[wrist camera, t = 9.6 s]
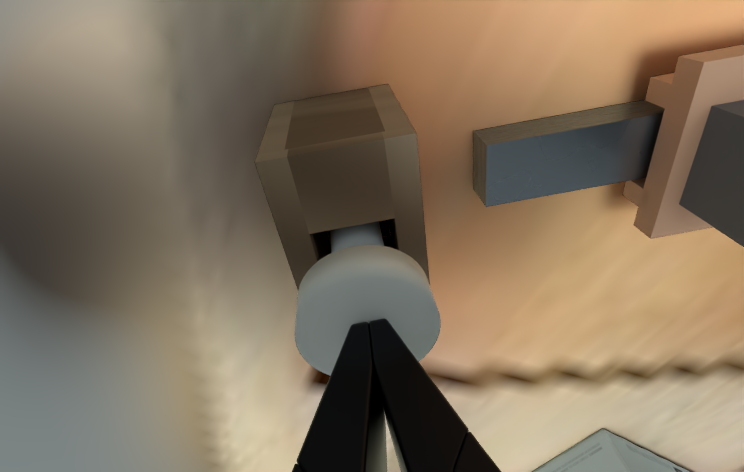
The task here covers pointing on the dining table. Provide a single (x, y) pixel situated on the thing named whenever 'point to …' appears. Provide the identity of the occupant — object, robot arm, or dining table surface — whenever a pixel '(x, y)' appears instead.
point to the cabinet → (342, 173)
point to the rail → (565, 152)
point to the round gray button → (363, 296)
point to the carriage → (696, 149)
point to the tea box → (608, 457)
